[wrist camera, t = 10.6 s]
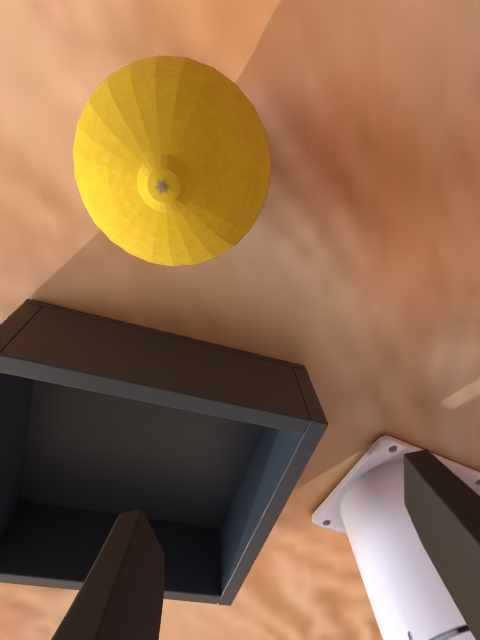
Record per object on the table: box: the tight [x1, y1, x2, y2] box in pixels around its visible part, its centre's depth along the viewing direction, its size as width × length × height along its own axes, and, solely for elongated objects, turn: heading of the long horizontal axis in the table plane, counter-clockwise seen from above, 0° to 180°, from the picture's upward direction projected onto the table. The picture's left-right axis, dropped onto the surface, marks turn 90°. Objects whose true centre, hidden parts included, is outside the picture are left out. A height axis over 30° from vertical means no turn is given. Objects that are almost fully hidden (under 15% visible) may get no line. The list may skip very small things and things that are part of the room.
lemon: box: [73, 56, 270, 266], centre depth 11 cm, size 6×6×8 cm
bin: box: [0, 299, 328, 606], centre depth 19 cm, size 14×14×4 cm
